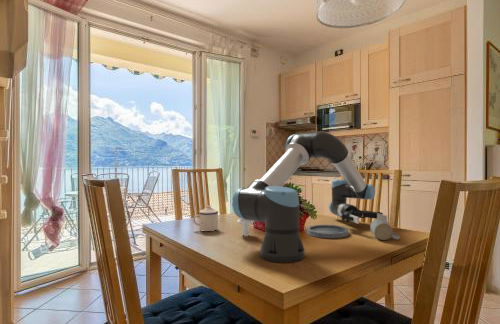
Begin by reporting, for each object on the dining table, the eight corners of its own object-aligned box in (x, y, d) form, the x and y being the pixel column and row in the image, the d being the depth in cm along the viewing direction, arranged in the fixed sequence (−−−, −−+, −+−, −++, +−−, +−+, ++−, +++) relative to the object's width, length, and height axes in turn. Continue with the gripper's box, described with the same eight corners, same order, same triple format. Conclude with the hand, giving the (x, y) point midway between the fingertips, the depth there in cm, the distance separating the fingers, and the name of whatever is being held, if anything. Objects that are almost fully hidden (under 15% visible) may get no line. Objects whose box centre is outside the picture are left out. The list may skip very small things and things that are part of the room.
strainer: (248, 238, 127) (247, 202, 127) (234, 236, 130) (233, 201, 130) (256, 234, 133) (256, 200, 133) (243, 232, 136) (242, 199, 136)
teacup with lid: (219, 227, 147) (219, 204, 147) (217, 232, 138) (217, 207, 138) (195, 228, 147) (194, 204, 147) (191, 232, 138) (191, 207, 138)
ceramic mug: (374, 240, 119) (374, 221, 119) (370, 235, 127) (370, 217, 127) (403, 242, 117) (403, 222, 117) (396, 237, 125) (396, 218, 125)
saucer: (315, 239, 122) (315, 234, 122) (301, 229, 140) (301, 225, 140) (356, 237, 125) (356, 232, 125) (337, 227, 143) (336, 223, 143)
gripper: (370, 218, 153) (398, 226, 132) (325, 220, 148) (345, 229, 128) (370, 203, 153) (398, 209, 132) (324, 205, 148) (345, 212, 128)
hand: (372, 219), depth 130 cm, fingers open, 13 cm apart
